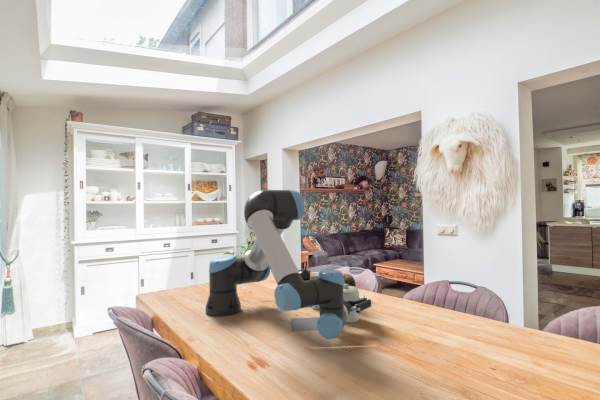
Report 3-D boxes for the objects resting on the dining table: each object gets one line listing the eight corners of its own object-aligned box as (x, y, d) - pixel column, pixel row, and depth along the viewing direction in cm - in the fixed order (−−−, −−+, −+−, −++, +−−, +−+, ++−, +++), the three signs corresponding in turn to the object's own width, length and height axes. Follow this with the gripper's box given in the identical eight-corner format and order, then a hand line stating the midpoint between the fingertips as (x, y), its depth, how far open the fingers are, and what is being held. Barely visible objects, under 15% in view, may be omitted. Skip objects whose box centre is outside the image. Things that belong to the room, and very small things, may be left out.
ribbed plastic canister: (336, 323, 126) (335, 287, 126) (332, 315, 136) (331, 282, 136) (361, 322, 126) (360, 286, 127) (355, 314, 136) (355, 281, 136)
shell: (331, 300, 158) (330, 275, 158) (335, 295, 168) (335, 271, 168) (354, 302, 154) (353, 276, 155) (357, 296, 165) (356, 272, 165)
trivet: (291, 332, 118) (291, 331, 118) (290, 319, 132) (290, 318, 132) (330, 330, 119) (330, 329, 119) (325, 318, 133) (325, 317, 133)
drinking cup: (291, 295, 161) (295, 258, 156) (305, 292, 165) (310, 256, 159) (297, 304, 155) (302, 266, 149) (312, 301, 158) (317, 264, 152)
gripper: (302, 320, 115) (316, 304, 135) (375, 326, 108) (379, 307, 128) (301, 299, 115) (316, 285, 136) (374, 303, 108) (378, 288, 129)
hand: (346, 296), depth 132 cm, fingers open, 13 cm apart
